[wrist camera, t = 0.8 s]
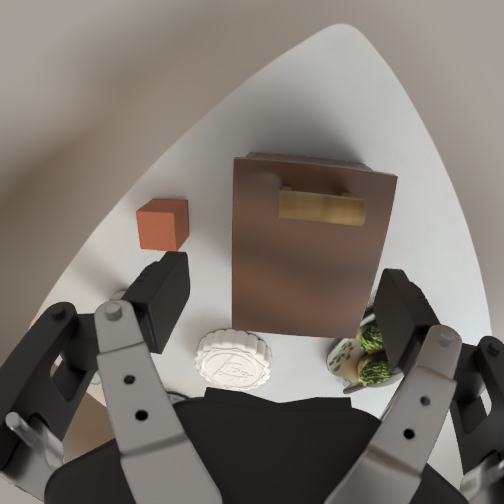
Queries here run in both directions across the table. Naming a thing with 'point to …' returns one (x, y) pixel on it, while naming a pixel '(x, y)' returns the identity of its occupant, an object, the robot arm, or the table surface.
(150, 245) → the block
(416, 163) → the table surface
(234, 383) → the mooncake
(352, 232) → the lid
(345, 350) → the avocado toast plate
